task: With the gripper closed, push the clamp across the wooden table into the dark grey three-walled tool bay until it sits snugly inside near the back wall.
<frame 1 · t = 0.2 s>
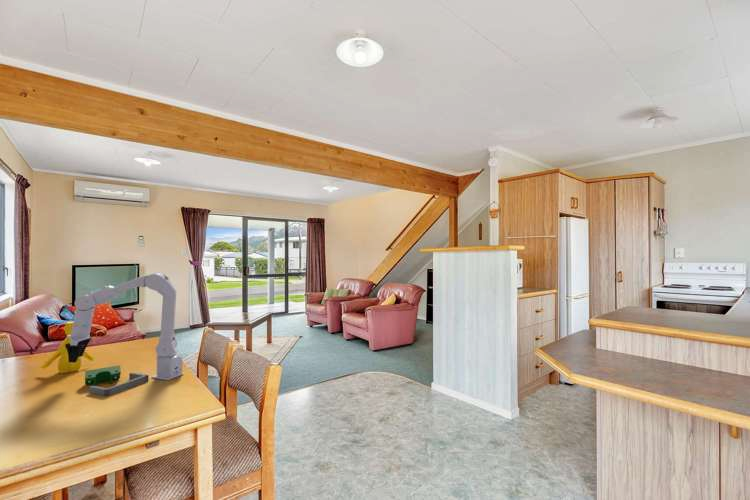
hand: (75, 359, 138), 10 cm above the table, tool pointing down, fingers open, 7 cm apart
tool bay: (117, 386, 137), on the table
figure statuette: (69, 371, 154), on the table
clamp: (103, 384, 140), on the table
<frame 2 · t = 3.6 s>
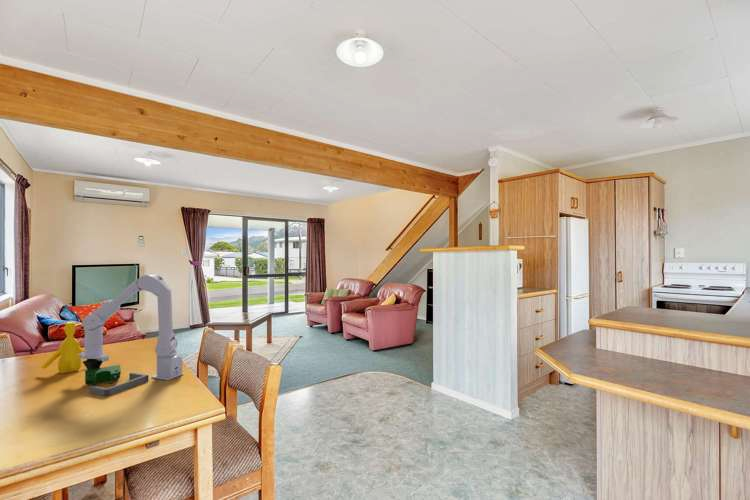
hand: (93, 377, 141), 2 cm above the table, tool pointing down, fingers closed, pressing on clamp
clamp: (103, 384, 140), on the table, touching gripper
everything else where it was.
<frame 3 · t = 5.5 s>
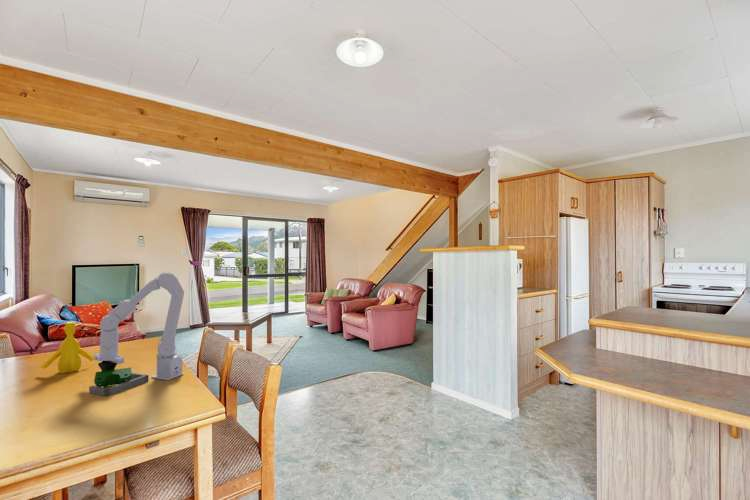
hand: (108, 379, 138), 2 cm above the table, tool pointing down, fingers closed, pressing on clamp
clamp: (113, 387, 136), on the table, touching gripper, tool bay
everything else where it was.
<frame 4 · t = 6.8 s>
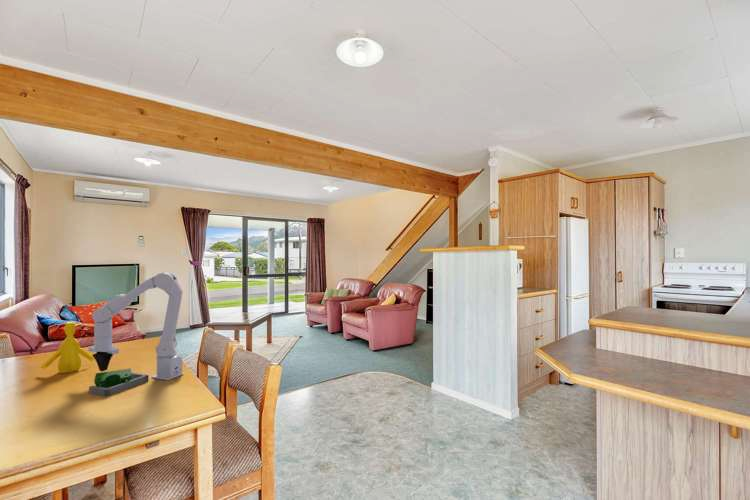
hand: (103, 370, 141), 5 cm above the table, tool pointing down, fingers closed
clamp: (113, 388, 136), on the table
everything else where it was.
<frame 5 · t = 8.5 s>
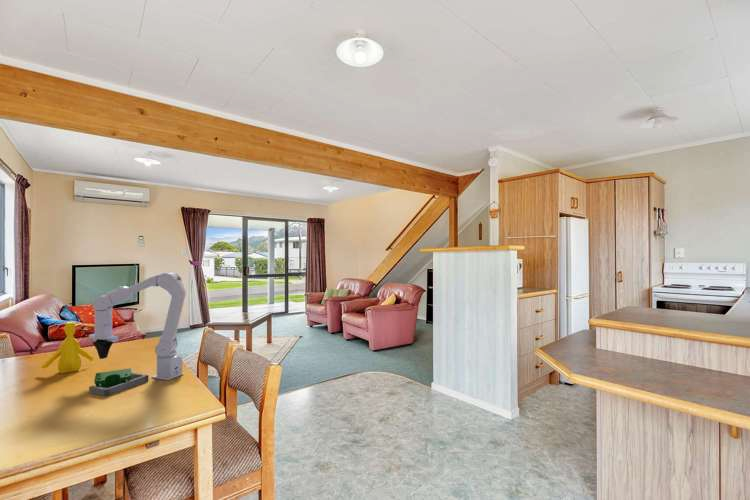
hand: (103, 358, 142), 9 cm above the table, tool pointing down, fingers closed
nothing on the table moved.
at the end: clamp inside the target area (1.4 cm from its centre), on the table; clamp moved 7.3 cm from its start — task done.
